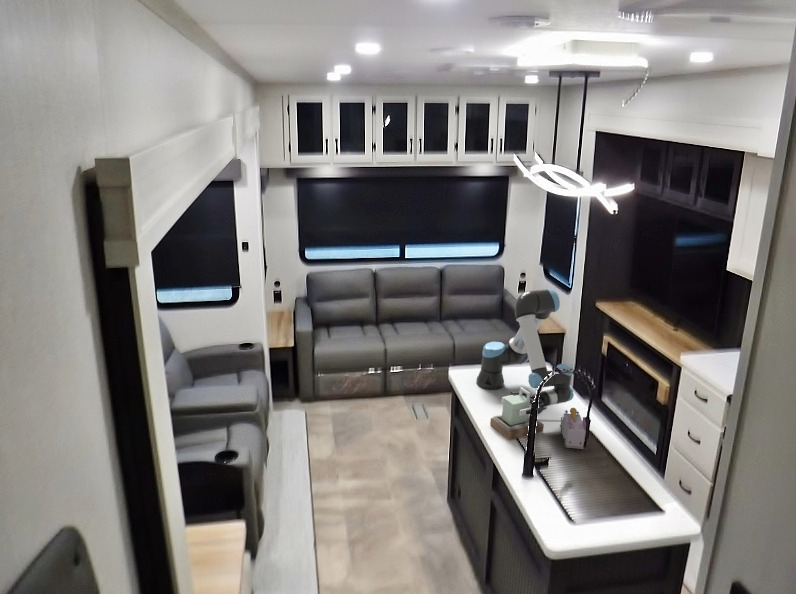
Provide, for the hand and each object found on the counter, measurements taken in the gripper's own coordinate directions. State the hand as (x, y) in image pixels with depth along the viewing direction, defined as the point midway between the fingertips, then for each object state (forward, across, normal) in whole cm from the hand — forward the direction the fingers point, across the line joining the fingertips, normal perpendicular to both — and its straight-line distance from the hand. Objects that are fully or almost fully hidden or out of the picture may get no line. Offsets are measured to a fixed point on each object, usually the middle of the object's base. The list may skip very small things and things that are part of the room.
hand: (510, 406), depth 294 cm
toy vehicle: (-22, -19, -13) cm, 32 cm away
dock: (-5, 0, -13) cm, 14 cm away
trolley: (-3, 0, -9) cm, 10 cm away
